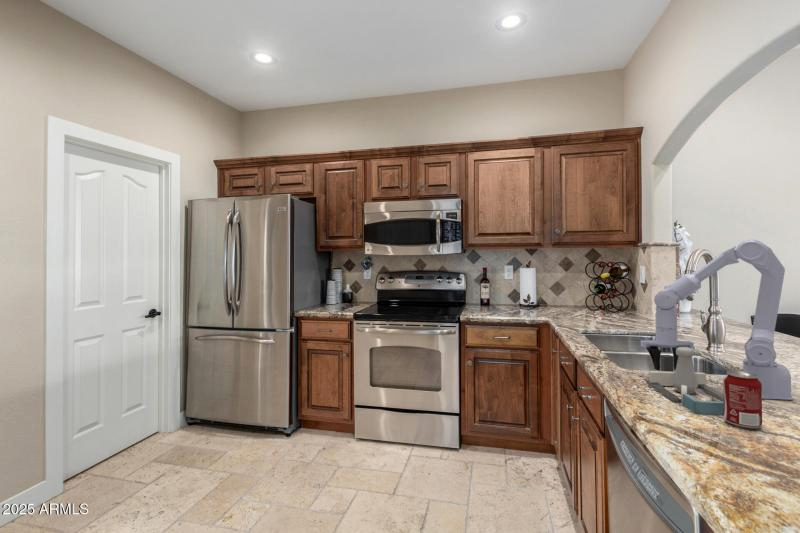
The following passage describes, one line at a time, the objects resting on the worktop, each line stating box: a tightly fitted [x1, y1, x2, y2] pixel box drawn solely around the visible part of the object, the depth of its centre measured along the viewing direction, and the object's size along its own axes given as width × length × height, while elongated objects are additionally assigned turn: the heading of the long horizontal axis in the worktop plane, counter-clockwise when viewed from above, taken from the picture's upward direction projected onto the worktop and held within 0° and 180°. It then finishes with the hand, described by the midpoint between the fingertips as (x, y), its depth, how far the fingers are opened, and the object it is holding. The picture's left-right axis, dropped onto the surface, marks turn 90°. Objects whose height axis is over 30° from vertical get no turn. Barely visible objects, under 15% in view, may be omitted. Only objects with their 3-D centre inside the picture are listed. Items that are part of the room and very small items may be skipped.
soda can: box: [722, 369, 763, 430], centre depth 91 cm, size 7×7×12 cm
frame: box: [680, 385, 724, 416], centre depth 100 cm, size 12×7×5 cm, turn 79°
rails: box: [645, 379, 724, 404], centre depth 112 cm, size 15×17×1 cm
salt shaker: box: [673, 347, 698, 395], centre depth 114 cm, size 6×6×13 cm
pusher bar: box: [648, 354, 707, 388], centre depth 122 cm, size 15×8×8 cm, turn 79°
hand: (666, 370), depth 124 cm, fingers open, 5 cm apart
